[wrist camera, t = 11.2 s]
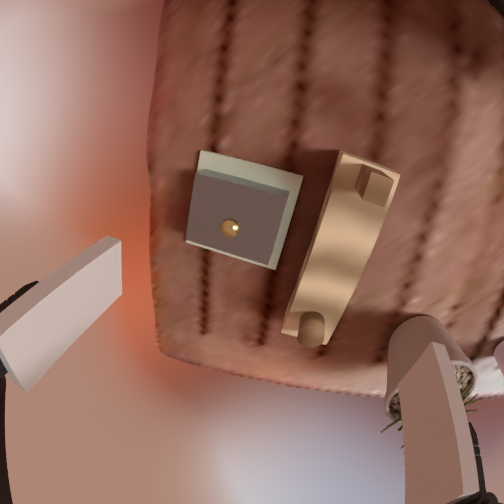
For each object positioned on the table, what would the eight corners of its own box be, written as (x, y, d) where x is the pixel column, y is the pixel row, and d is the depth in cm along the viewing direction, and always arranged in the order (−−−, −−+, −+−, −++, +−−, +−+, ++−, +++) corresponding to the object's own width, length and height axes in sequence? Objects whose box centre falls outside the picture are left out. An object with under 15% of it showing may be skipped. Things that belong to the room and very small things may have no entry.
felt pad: (202, 150, 32) (200, 150, 31) (303, 175, 31) (303, 176, 30) (187, 240, 37) (186, 242, 37) (276, 267, 36) (275, 270, 36)
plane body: (339, 150, 29) (348, 159, 20) (389, 168, 28) (416, 185, 20) (285, 311, 39) (274, 360, 30) (326, 323, 38) (325, 374, 30)
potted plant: (354, 353, 40) (356, 474, 22) (416, 287, 33) (464, 412, 15) (407, 379, 40) (422, 483, 22) (466, 324, 33) (511, 429, 16)
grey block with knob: (205, 168, 32) (193, 173, 29) (289, 191, 31) (286, 198, 28) (195, 230, 36) (184, 240, 33) (271, 253, 35) (267, 266, 32)
